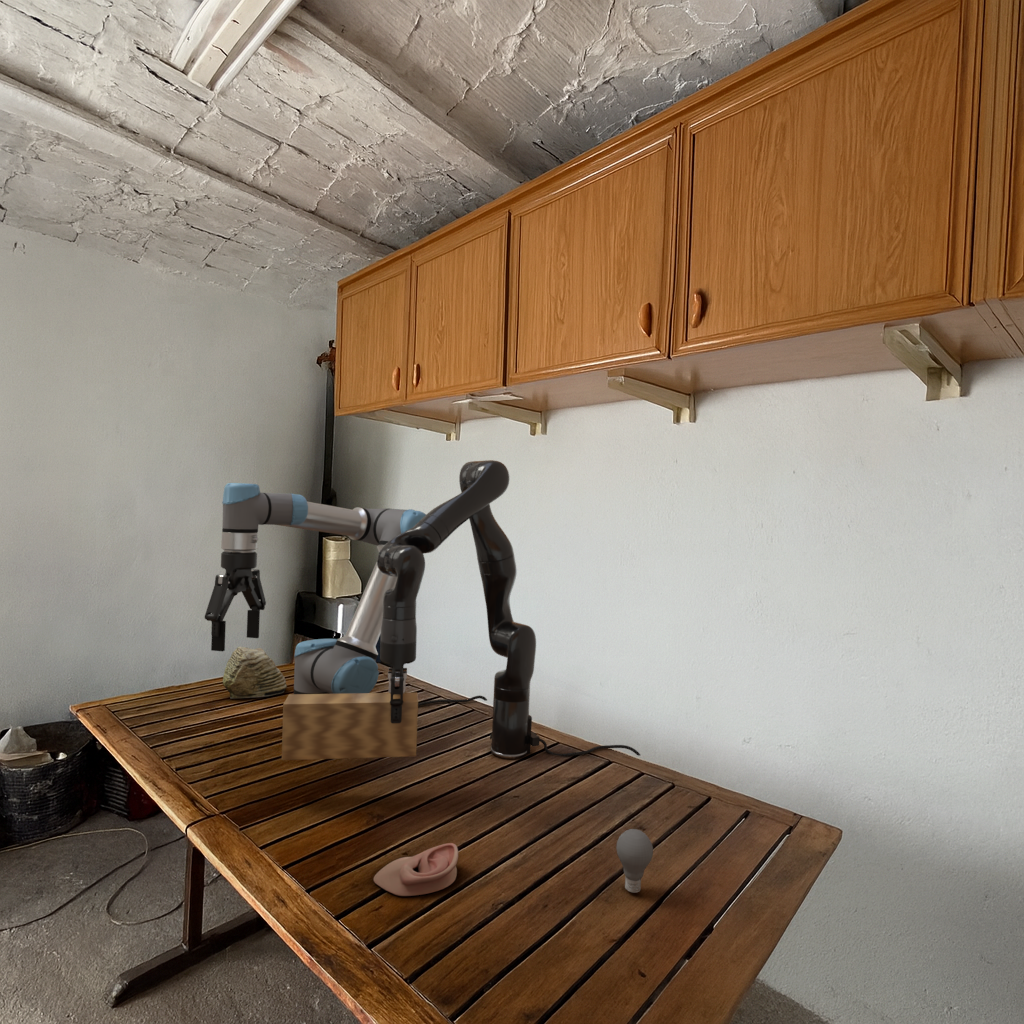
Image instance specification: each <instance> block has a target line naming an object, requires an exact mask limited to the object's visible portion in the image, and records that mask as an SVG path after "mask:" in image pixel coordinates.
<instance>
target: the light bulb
mask: <svg viewBox="0 0 1024 1024" xmlns="http://www.w3.org/2000/svg"><path fill="white" fill-rule="evenodd" d="M615 849H616V854H617V857H618V859H619V861H620V863H621V865H622V867H623V873H624V874H623V875H624V876H625V878H624V888H625V890H627V891H628V892H630V893H634V894H635V893H639V892H640V891H641V889H642V887H641V886H642V879H643V877H644V875H645V871H646V868H647V867H648V866H649V864H650V863H651V861H652V859H653V855H654V847H653V843H652V841H651V838H649V836H648V835H647V834H646V833H645V832H643V831H642V830H641V829H636V828H629V829H627V830H625V831H623V832H622V833H621V834H620V835H619V837H618V839H617V841H616V847H615Z"/></svg>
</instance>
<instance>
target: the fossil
mask: <svg viewBox="0 0 1024 1024" xmlns="http://www.w3.org/2000/svg"><path fill="white" fill-rule="evenodd" d="M222 676H223V677H222V685H223V687H224V688H225V690H226V691H228V693H229V698H230V699H250V698H264V697H271V696H275V695H281V694H284V693H285V691H286V689H287V687H288V686H287V680H286V678H285V676H284V674H283V673H282V672H281V669H279V668H278V667H277V665H276V663H275V662H274V660H273V659H272V658H271V657H270V656H269V655H268V654H267V653H266V652H265V650H264V649H263V648H260V647H258V648H251V647H247V646H246V647H245V646H238V647H237V648H236V649H235V650H233V651H232V653H231V656H230V657H229V659H228V660H227V663H226V666H225V668H224V671H223V675H222Z"/></svg>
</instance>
